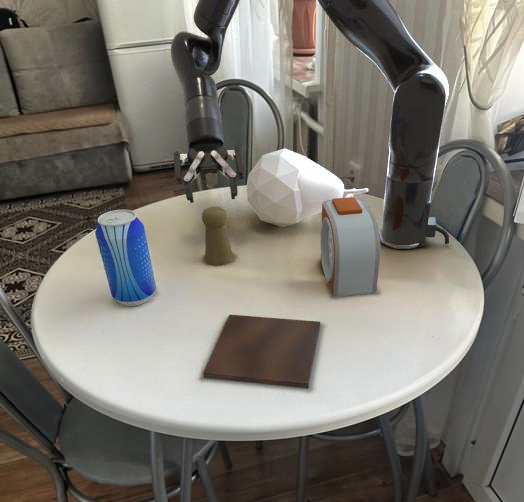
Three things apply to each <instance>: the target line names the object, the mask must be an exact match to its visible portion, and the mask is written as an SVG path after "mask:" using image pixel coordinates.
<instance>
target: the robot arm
mask: <svg viewBox="0 0 524 502" xmlns="http://www.w3.org/2000/svg"><path fill="white" fill-rule="evenodd" d="M240 1H241V0H198V1H197V4H196V6H195V9H194V12H193V22H194V25H195V27H196V28H197V29H198V30H199V31H200V32H201V33H203V34H204V35H205V36H207V37H204V36H201V35H198V34H194V33H192V32H189V31H179V32H178V33H176V34H175V35H174V37H173V39H172V41H171V43H170V58H171V63H172V66H173V68H174V71H175V74H176V75H177V78H178V81H179V84H180V86H181V89H182V91H183V100H184V110H185V111H184V119H185V129H186V138H187V146H188V151H187V153H180V152H179V151H174V152H173V167H174V180H175V183H176V184H177V185H183V186H184V191H185V198H186V200H187V201H189V203H190V204H194V193H193V182H194V181H195V180H196V179H197V177H198V176H199V174H201V175H207V174H218V173H219V172H220V174H222V176H224V177H226V179H227V180H228V181H229V190H230V198H231V200H236V197H237V196H238V193H239V189H238V181H239V180H244V178H245V165H244V160H243V156H242V151H241V148H240V146H235V147H234V149H227V148H226V146H225V137H224V128H223V121H222V113H221V110H220V106H219V99H218V98H219V97H218V89H217V84H216V81H215V79H214V78H213V77H212V76H213V75H214V74H216V72H217V71H218V70H219V69H220V65H221V63H222V62H221V61H222V53H223V47H224V43H225V38H226V34H227V30H228V28H229V25H230V23H231V21H232V20H233V17H234V15H235V13H236V10H237V8H238V6H239V3H240ZM317 2H318V4H319V5H320V7H321V9H322V10H323V11H324V13H325V14H326V15H327V17H328V18H329V20H330V21H331V22H332V24H333V25H334V26H335V28H336V29H337V30H338V31H339V32H340V33H341V35H342V36H343V37H344V38H345V39H346V40H347V41H348V42H350V44H352V45H353V46H354V47H355V48H356V49H357V50H359V51H360V52H361V53H362V54H363V55H365V56H366V57H367V58H369V60H371V61H372V62H373V63H374V64H375V65H376V66H377V68H378V69H379V70H380V72H381V73H382V74H383V76H384V77H385V79H386V80H387V82H388V83H389V85H390V87H391V88H392V91H393V92H394V95H393V98H392V99H393V100H392V105H391V117H390V126H389V127H390V128H389V136H388V137H389V138H388V139H389V140H388V148H389V149H388V150H389V154H388V163H387V171H386V181H385V188H384V189H385V190H384V199H383V207H382V208H383V209H382V218H381V224H380V225H381V226H380V232H379V235H380V243H381V244H383V245H384V246H387V247H389V248H393V249H399V250H410V249H411V250H412V249H415V248H424V247H425V242H426V238H433V239H434V238H435V237H436V232H438V233H440V234H442V235H443V237H444V244H445V245H448V244H450V236H449V233H448V232H447V231H446V230H445V229H443V228H441V227H439V226H438V225H437V218H436V217H434V216H430V212H431V207H432V202H431V197H432V191H433V185H434V179H435V175H436V174H435V172H436V167H437V161H438V155H439V150H440V140H441V133H442V127H443V122H444V116H445V109H446V103H447V100H448V97H449V92H450V91H449V90H450V88H449V82H448V79H447V77H446V75H445V73H444V72H443V71H442V70H441V68H440V67H439V66H437V64H435V63H434V61H433V60H432V59H431V58H430V57H429V56H428V55H427V54H426V53H425V51H423V49H422V48H421V47H420V46H419V44H418V43H417V42H416V41H415V40H414V39H413V37H412V36H411V35H410V33H409V32H408V30H407V28H406V26H405V25H404V23H403V21H402V20H401V18H400V16H399V14H398V13H397V11H396V10H395V8H394V6H393V4H392V3H391V1H390V0H317ZM228 158H230V159H231V161H232V162H235V167H236V171H234V170H233V169H232V167H230V165H229V164H228V162H227V160H228ZM186 161H187V162H188V163H189V164H190V166H189V168H188V171H187V172H186V173H185V175H182V173H183V172H182V166H184V165H185V164H186V163H185V162H186Z"/></svg>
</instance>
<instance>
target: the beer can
mask: <svg viewBox="0 0 524 502" xmlns="http://www.w3.org/2000/svg"><path fill="white" fill-rule="evenodd" d="M94 233H95V237H96V242H97V245H98V249H99V254H100V257H101V261H102V264H103V269H104V272H105V276H106V280H107V284H108V287H109V290H110V295H111V297H112V298H113V299H114V301H117V303H118V304H119V305H122V306H127V307H134V306H139V305H144V304H145V303H147V302H149V301H151V299H152V298H153V297H154V294H155V292H156V290H157V284H156V279H155V274H154V269H153V264H152V260H151V254H150V249H149V245H148V244H149V243H148V240H147V234H146V229H145V225H144V223H143V222H142V221H141V220H140V219H139V218H138V216H137V213H136V212H135V211H134V210H130V209H115V210H114V209H113V210H110V211H106V212H103V213H102V214H100V215H99V216H98V217H97V225H96V228H95V232H94Z"/></svg>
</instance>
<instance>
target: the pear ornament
mask: <svg viewBox="0 0 524 502" xmlns="http://www.w3.org/2000/svg"><path fill="white" fill-rule="evenodd" d="M368 192H369V188H367V187H365V188H359V189H358V188H357V189H356V188H351V189H345V185H344V182H342V180H341V179H340V178H339V177H337V176H336V175H335V174H334V173H332V172H330V171H329V170H327V169H326V168H325V167H323V166H321V165H320V164H318V163H316V162H315V161H313V160H311V159H310V158H308V157H307V156H304V155H302V154H300V153H298V152H295V151H292V150H290V149H288V148H286V147H285V148H281V149H278V150H274V151H271V152H268V153H264V154H262V155H261V156H260V158H259V159H258V161H257V162H256V164H255V165H254V167H253V168H252V169H251V171H250V172H249V173H248V175H247V181H246V198H247V202H248V203H249V204H250V206H251V208H252V209H253V210H254V212H255V214H256V216H258V218H259V220H260V221H263V222H266V223H268V224H271V225H273V226H277V227H280V228H284V227H287V226H292V225H295V224H297V223H300V222H302V221H305V220H307V219H309V218H311V217H314V216H316V215H318V214H320V213H322V203H323V202H324V201H326V200H331V199H335V198H344V195H346V196H345V198H348V197H354V195H356V194H365V193H368Z"/></svg>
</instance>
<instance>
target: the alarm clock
mask: <svg viewBox="0 0 524 502" xmlns="http://www.w3.org/2000/svg"><path fill="white" fill-rule="evenodd" d="M380 262H381V241H380V230H379V224H378V220H377V218H376V216H375V214H374V212H373V211H372V209H371V208H370V206H369V205H368V204H367V202H366V200H365V199H363V198H360V197H354V196H353V197H348V198H346V197H342V198H335V199H331V200H326V201H324V202H323V203H322V212H321V226H320V262H319V263H320V265H321V268H322V271H323V274H324V277H325V280H326V281H327V284H328V286H329V289H330V292H331V294H332V296H333V298H334V297H345V296H346V297H347V296H358V295H370V294H376V293H377V289H378V282H379V271H380Z"/></svg>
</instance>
